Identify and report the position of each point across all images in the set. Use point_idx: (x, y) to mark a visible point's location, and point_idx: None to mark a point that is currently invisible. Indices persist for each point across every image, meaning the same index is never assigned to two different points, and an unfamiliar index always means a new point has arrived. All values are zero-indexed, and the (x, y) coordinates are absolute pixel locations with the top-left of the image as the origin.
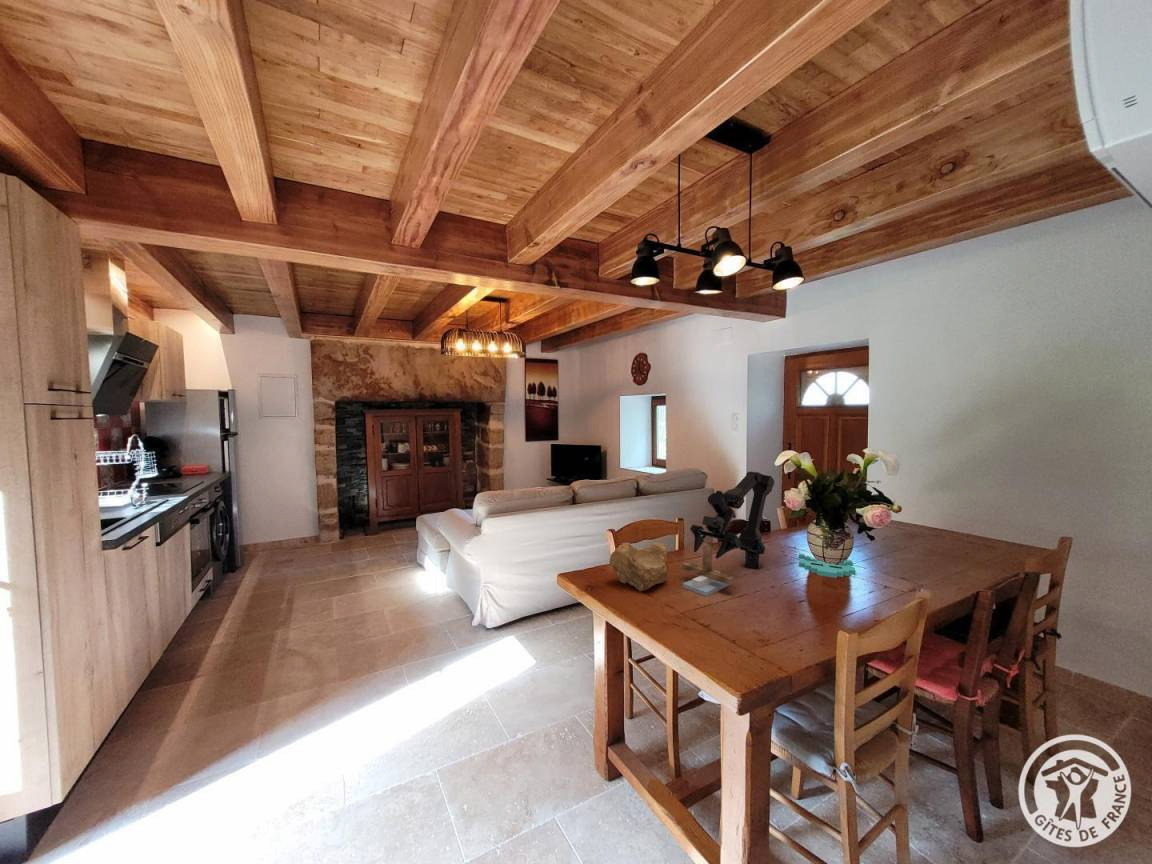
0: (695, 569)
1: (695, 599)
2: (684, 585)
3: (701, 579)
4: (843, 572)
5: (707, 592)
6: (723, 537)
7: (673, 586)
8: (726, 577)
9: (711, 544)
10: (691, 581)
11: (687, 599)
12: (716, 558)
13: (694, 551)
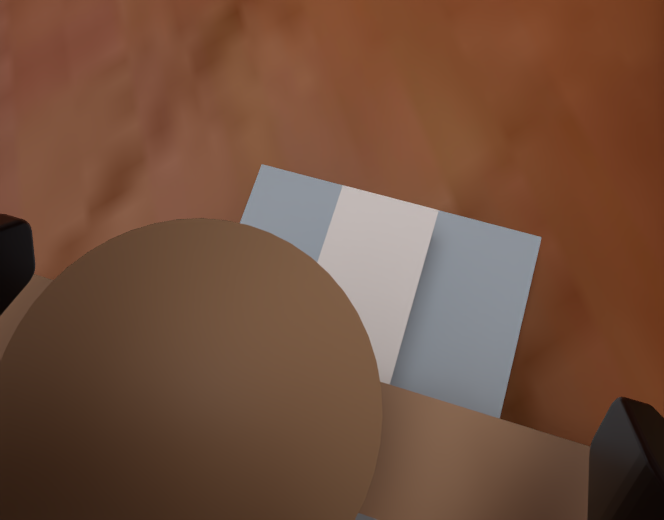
0: (489, 417)
1: (333, 80)
2: (514, 235)
3: (342, 256)
4: None
5: (257, 185)
6: None
7: (619, 226)
8: (21, 299)
9: (4, 398)
10: (485, 347)
11: (390, 45)
12: (29, 260)
13: (620, 414)
